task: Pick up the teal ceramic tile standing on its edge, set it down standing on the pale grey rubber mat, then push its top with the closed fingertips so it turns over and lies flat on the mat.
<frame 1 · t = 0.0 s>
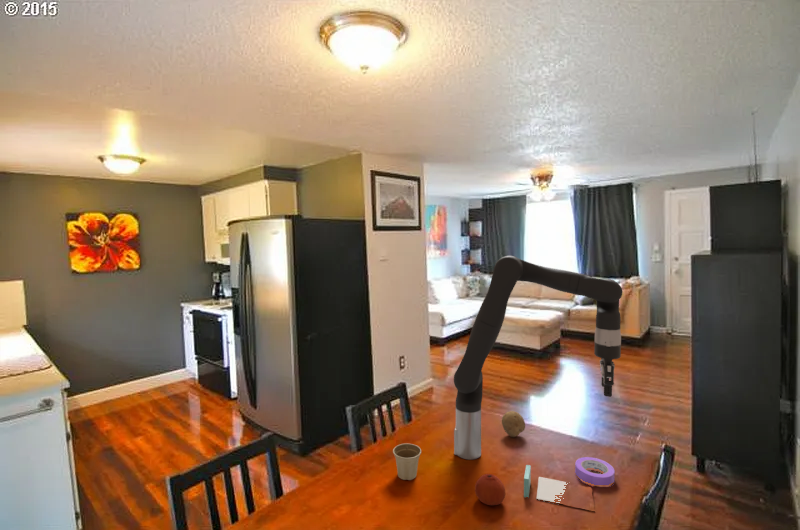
hand: (606, 391, 132), 29 cm above the table, fingers open, 8 cm apart
masking tape: (594, 478, 135), on the table
mat: (565, 493, 126), on the table
flower pot: (407, 475, 137), on the table
tile: (527, 490, 128), on the table
fruit: (489, 502, 123), on the table
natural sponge: (513, 436, 163), on the table
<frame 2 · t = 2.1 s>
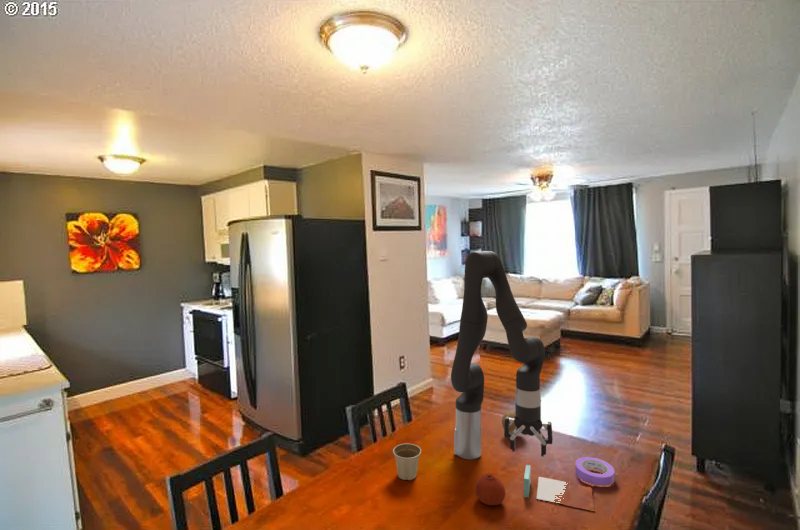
hand: (528, 452, 127), 12 cm above the table, fingers open, 8 cm apart
nothing on the table moved.
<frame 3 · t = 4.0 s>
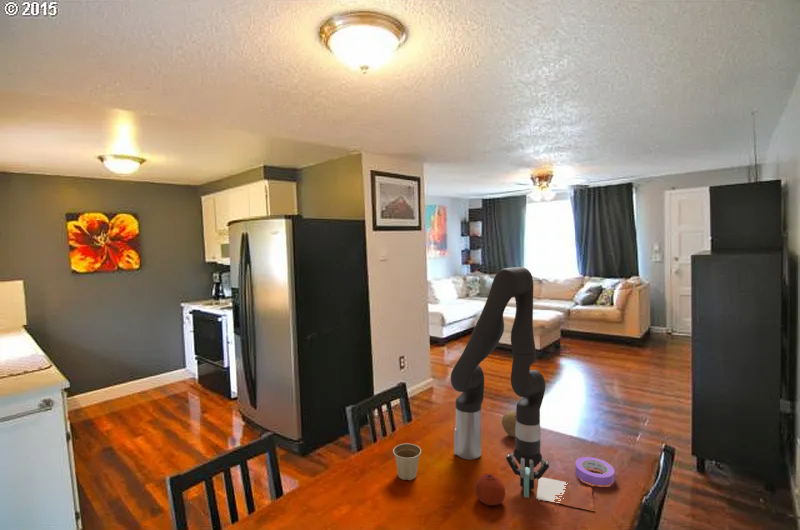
hand: (527, 488, 128), 1 cm above the table, fingers closed on tile, 1 cm apart
tile: (527, 490, 128), on the table, touching gripper
everything else where it was.
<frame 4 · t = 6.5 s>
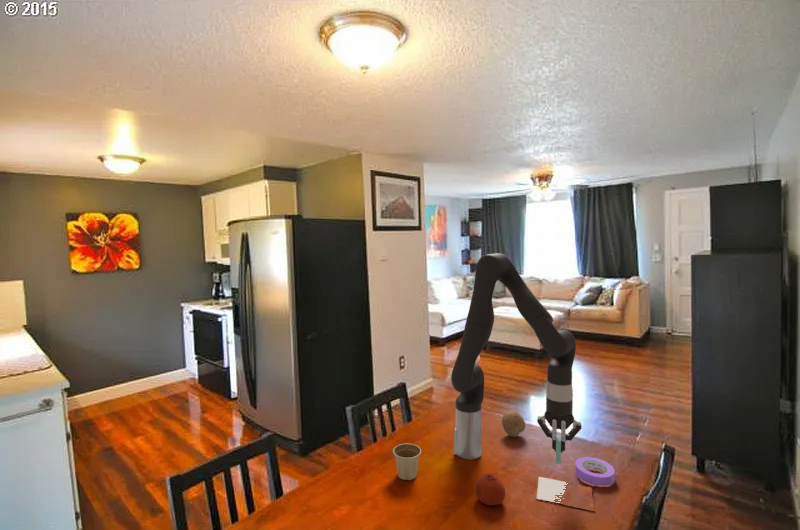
hand: (558, 450, 126), 13 cm above the table, fingers closed on tile, 1 cm apart
tile: (558, 458, 125), point 11 cm above the table, tilted 8°, touching gripper
everything else where it was.
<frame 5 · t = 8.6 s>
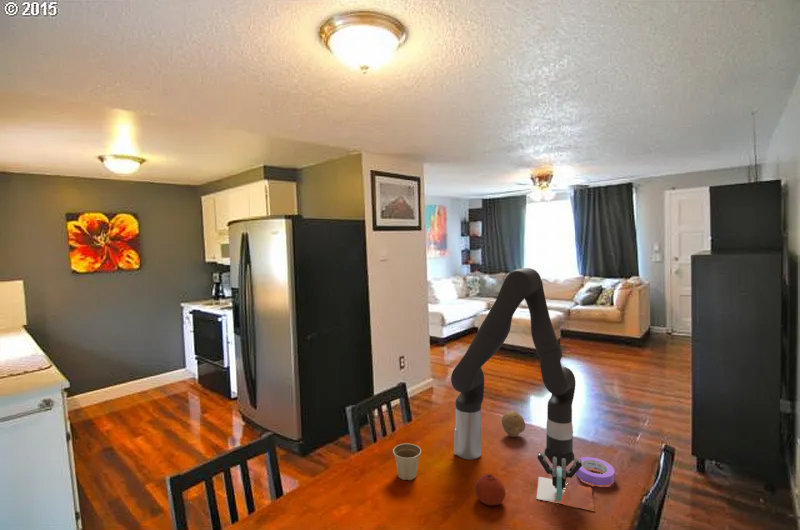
hand: (559, 487, 126), 2 cm above the table, fingers closed on tile, 1 cm apart
tile: (559, 493, 126), resting on mat, touching gripper
everything else where it was.
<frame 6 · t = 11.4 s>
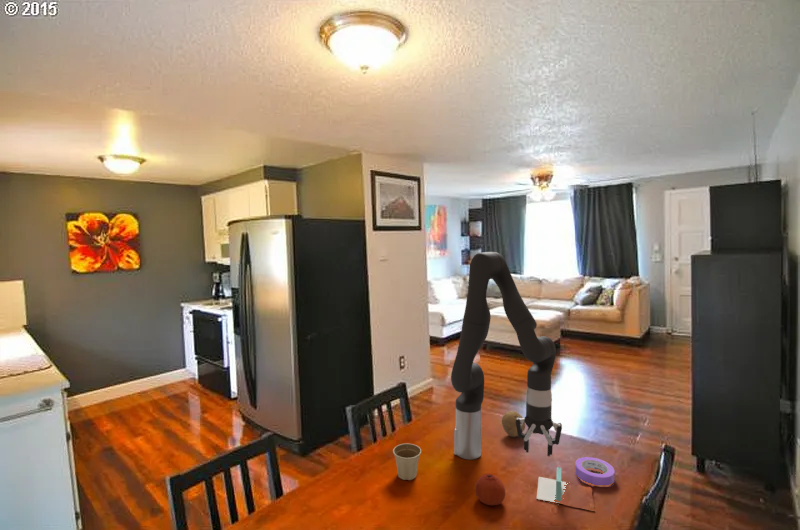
hand: (538, 453, 128), 11 cm above the table, fingers open, 5 cm apart
tile: (558, 493, 126), resting on mat
everything else where it was.
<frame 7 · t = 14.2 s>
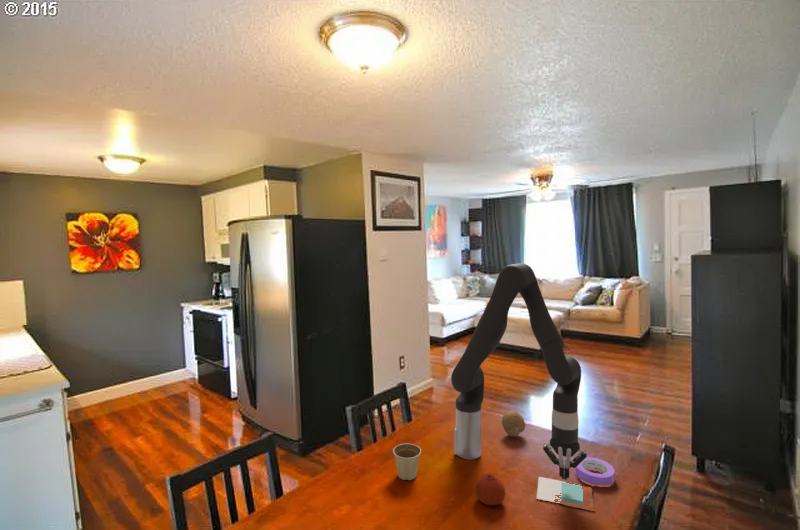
hand: (564, 478, 126), 5 cm above the table, fingers closed
tile: (561, 491, 125), point 1 cm above the table, tilted 90°, touching mat
everything else where it was.
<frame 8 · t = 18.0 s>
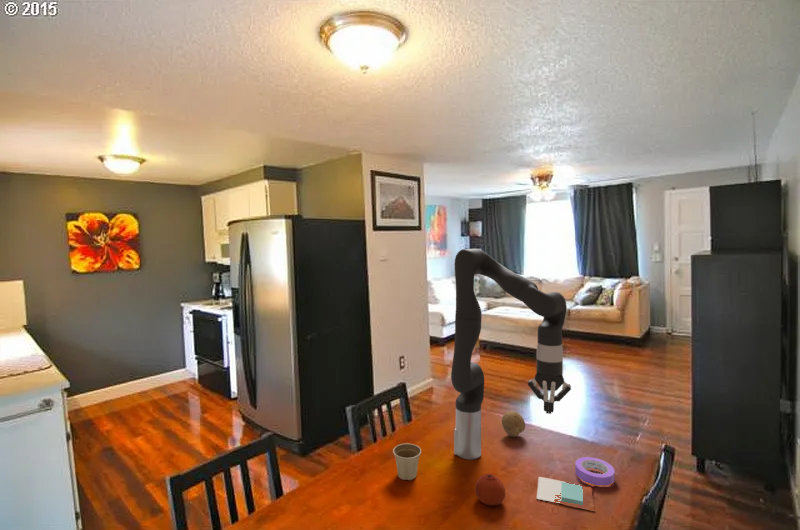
hand: (548, 412, 126), 25 cm above the table, fingers closed
nothing on the table moved.
at the end: tile tilted 90°; tile inside the target area on the mat (1.5 cm from its centre), point 1.1 cm above the mat's base; the gripper is holding nothing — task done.
